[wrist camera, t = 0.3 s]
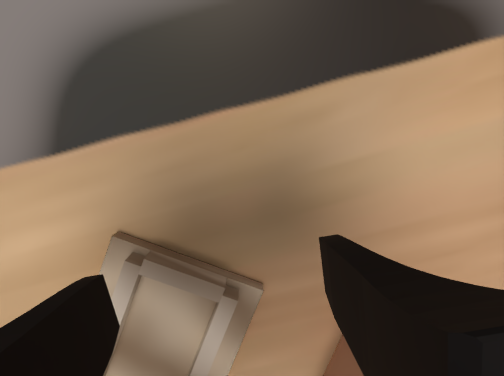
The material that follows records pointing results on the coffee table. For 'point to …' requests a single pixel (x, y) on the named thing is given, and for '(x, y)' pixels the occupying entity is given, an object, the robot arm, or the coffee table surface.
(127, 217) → the coffee table surface
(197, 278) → the framed rectangular tray
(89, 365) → the robot arm
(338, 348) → the clay strip
